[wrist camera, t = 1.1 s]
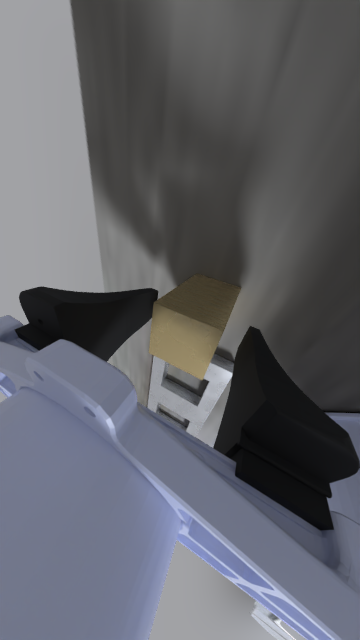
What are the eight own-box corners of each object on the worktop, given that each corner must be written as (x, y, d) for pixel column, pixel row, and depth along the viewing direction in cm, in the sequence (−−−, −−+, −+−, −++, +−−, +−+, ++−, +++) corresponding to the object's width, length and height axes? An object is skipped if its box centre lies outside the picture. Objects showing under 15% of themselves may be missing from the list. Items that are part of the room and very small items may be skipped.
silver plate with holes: (162, 330, 19) (155, 336, 18) (235, 363, 17) (233, 373, 16) (150, 413, 31) (145, 421, 30) (191, 440, 29) (188, 449, 28)
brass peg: (241, 287, 13) (223, 331, 8) (225, 325, 15) (202, 380, 10) (197, 273, 14) (153, 302, 9) (187, 311, 16) (148, 352, 11)
